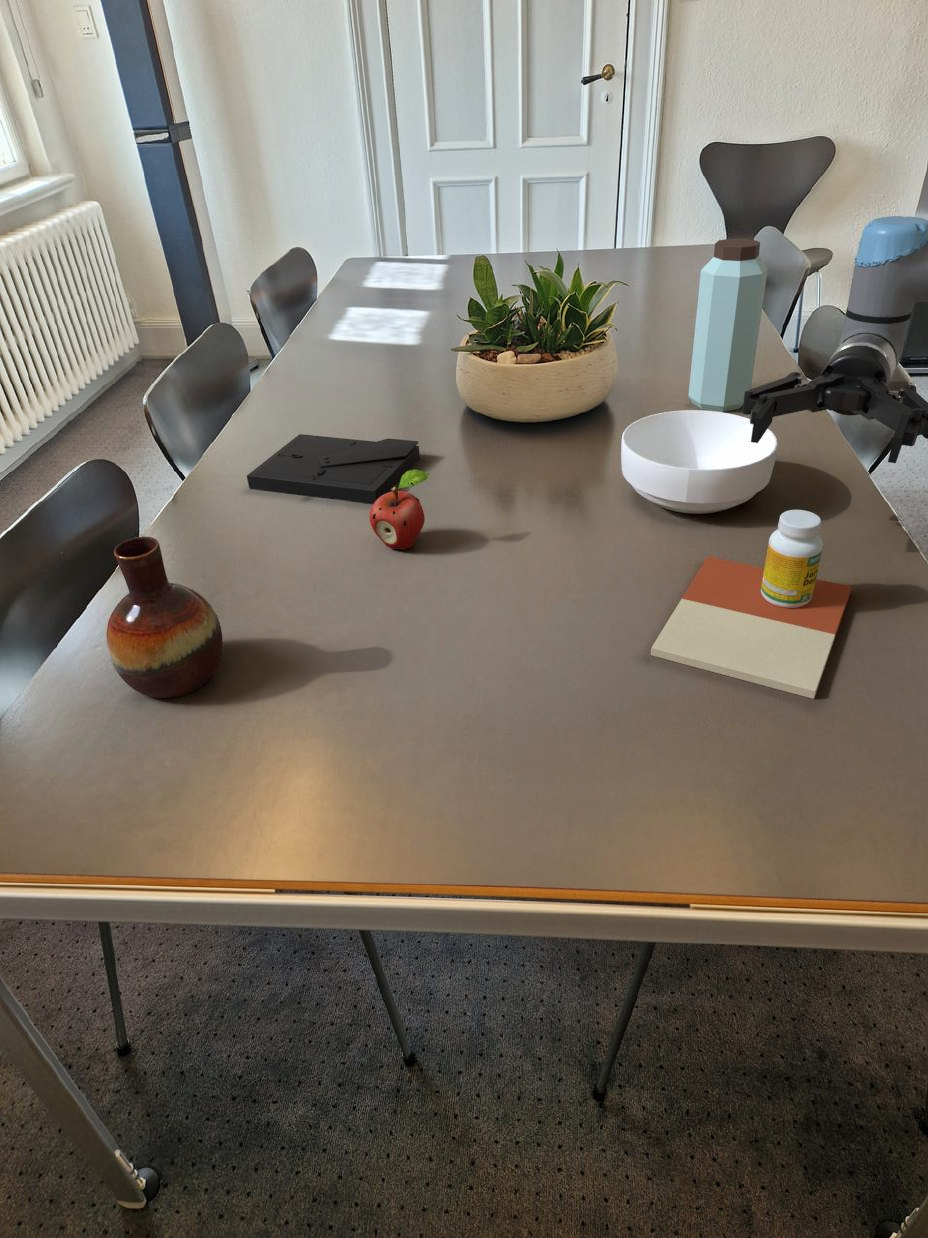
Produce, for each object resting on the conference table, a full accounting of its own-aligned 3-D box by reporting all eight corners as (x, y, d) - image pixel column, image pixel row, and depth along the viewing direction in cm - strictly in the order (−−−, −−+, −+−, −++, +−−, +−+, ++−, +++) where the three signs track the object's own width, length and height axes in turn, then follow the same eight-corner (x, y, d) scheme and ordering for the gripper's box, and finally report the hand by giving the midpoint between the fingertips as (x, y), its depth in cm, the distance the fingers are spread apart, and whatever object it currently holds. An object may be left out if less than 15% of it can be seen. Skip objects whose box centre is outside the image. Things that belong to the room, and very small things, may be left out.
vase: (176, 722, 82) (132, 589, 74) (98, 691, 87) (48, 562, 78) (252, 659, 90) (220, 531, 81) (176, 633, 95) (139, 510, 86)
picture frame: (420, 458, 130) (301, 446, 137) (418, 441, 129) (298, 429, 135) (376, 504, 118) (249, 488, 125) (374, 485, 117) (245, 470, 123)
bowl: (771, 472, 120) (781, 415, 115) (764, 539, 105) (774, 476, 100) (632, 460, 126) (635, 405, 121) (605, 522, 111) (608, 462, 106)
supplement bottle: (767, 578, 96) (781, 501, 90) (817, 590, 93) (834, 512, 88) (753, 602, 92) (766, 523, 87) (804, 614, 90) (821, 535, 84)
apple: (388, 564, 105) (379, 491, 99) (364, 542, 110) (355, 471, 104) (442, 546, 108) (436, 473, 102) (417, 525, 113) (410, 455, 107)
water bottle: (712, 387, 148) (730, 233, 134) (761, 401, 142) (785, 240, 127) (675, 403, 143) (689, 244, 129) (724, 418, 137) (745, 253, 122)
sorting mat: (850, 593, 94) (852, 586, 94) (813, 699, 80) (815, 691, 80) (707, 563, 101) (707, 555, 100) (650, 655, 87) (651, 647, 86)
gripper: (964, 419, 99) (948, 494, 84) (748, 393, 110) (699, 455, 95) (983, 355, 95) (969, 422, 80) (756, 334, 106) (706, 389, 91)
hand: (822, 440), depth 88 cm, fingers open, 13 cm apart
